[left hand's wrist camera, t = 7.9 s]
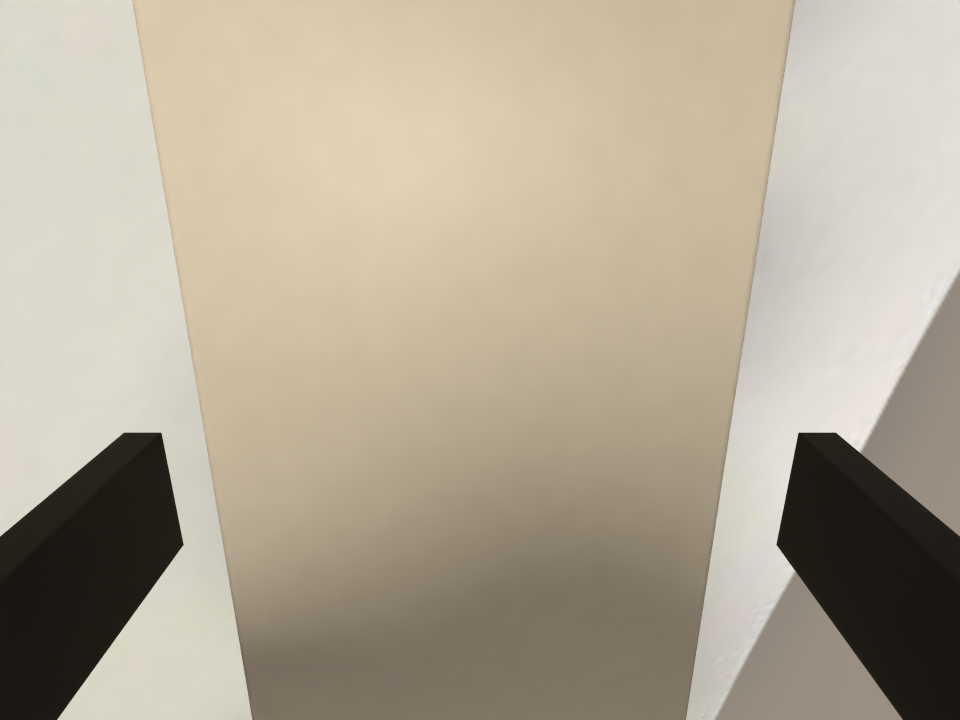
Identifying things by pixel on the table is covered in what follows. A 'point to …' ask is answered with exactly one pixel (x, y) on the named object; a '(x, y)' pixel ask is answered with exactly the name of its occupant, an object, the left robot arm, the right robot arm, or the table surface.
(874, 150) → the table surface
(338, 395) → the box
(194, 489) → the table surface
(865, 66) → the table surface
